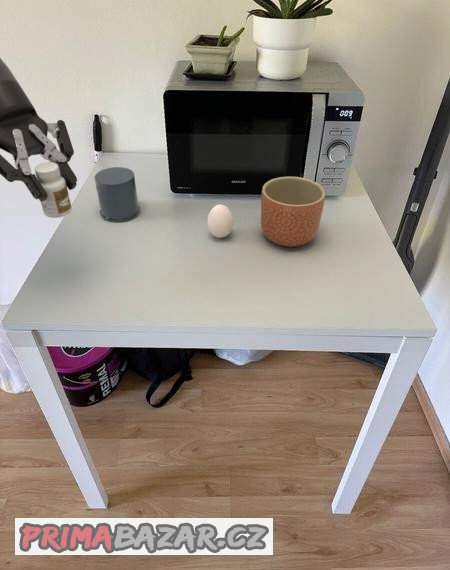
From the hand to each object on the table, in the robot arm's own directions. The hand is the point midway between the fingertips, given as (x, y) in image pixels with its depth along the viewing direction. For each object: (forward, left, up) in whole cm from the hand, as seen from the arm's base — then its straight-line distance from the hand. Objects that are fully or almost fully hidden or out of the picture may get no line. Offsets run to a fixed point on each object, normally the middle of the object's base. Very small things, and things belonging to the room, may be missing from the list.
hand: (59, 192), depth 68 cm
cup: (+12, +24, -19) cm, 33 cm away
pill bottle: (-1, +2, -4) cm, 5 cm away
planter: (+42, 0, -19) cm, 47 cm away
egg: (+29, +6, -19) cm, 36 cm away
